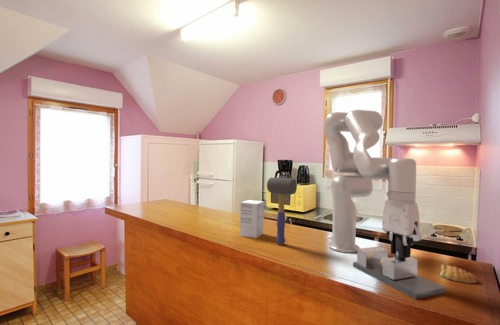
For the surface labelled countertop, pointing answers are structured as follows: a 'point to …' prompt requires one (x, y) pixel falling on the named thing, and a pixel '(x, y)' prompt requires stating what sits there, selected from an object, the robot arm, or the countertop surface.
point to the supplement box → (251, 218)
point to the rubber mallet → (281, 201)
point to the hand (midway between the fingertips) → (400, 254)
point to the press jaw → (399, 263)
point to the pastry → (457, 274)
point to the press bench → (411, 285)
